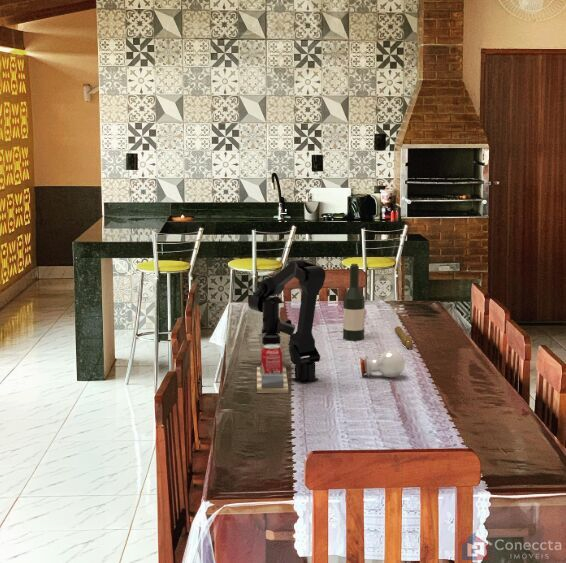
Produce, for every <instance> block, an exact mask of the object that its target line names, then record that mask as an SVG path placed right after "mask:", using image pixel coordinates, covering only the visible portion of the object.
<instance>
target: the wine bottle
mask: <svg viewBox="0 0 566 563" xmlns="http://www.w3.org/2000/svg"><path fill="white" fill-rule="evenodd" d="M359 269H360V268H359V265H358V263H351V265H350V266H349V288H348V290H347V291H346V292H345V294H344V296H343V301H342V302H343V304H342V305H343V306H342V307H343V312H342V313H343V317H342V318H343V319H342V322H343V324H342V330H343V331H342V332H343V333H342V339H343V340H345V341H347V342H348V341H350V342H358V341H363V340H364V339H365V309H366V308H365V300H366V297H365V296H364V294H363V293H362V290H361V289H360V286H359V285H360V284H359V281H360V280H359V278H360V275H359V274H360V270H359Z"/></svg>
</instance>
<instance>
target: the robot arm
mask: <svg viewBox="0 0 566 563" xmlns="http://www.w3.org/2000/svg"><path fill="white" fill-rule="evenodd" d="M326 275H327V274H326V270H325V269H324V268H323V267H322V266H321V265H318V264H314V263H311V262H308V261H306V260H305V259H295V260H294V259H293V260H290V261H289V263H288V264H287V265H285V267H283V268H282V269H281V270H280V271H278V272H277V273H276V274H274V276H270V277H267V278H264V279H262V280H260V282H259V285H258V287H257V289H256V291H253V292H252V295H251V296H250V297H249V299H248V301H247V305H248V307H249V309H251V310H252V311H256V312H259V313H262V326H261V334H262V339H261V341H262V344H263V346H264V345H266V344H278V345H280V344H281V335H280V334H281V333H284V334H286V335H289V341H288V353H289V357H290V361H291V363H292V364H293V365H294V377H293V378H292V381H294V382H295V381H296V382H299V383H304V384H309V383H311V382H316V381H318V380H319V378H318V377H316V363H318V362H320V360H321V354H320V353H319V351H318V349H317V348H316V340H315V338H314V335H313V325H314V318H315V314H316V312H315V311H316V306H317V299H318V298H317V297H318V293H319V292H320V291H321V289H322V288H323V286H324V283H325V281H326V277H327V276H326ZM294 278H296V279H297V280H298V284H299V286H300V288H301V298H300V307H299V315H298V320H297V328H296V325H295V324H293V323H292V320H291V319H288V318H287V319H286V320H285V321H284V320H283V321H282V320H281V317H280V304H283V300H282V299H281V298H280V296H279V295H281V294H282V292H284V290H285V285H287V284H288V283H289V282H290V281H292V280H293V279H294ZM295 329H296V330H295Z"/></svg>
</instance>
